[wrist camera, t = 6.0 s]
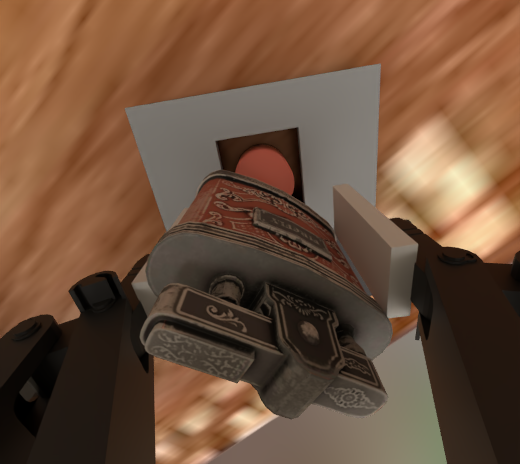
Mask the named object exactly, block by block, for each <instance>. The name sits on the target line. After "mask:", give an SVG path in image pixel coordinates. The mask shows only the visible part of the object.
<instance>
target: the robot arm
mask: <svg viewBox="0 0 520 464" xmlns="http://www.w3.org/2000/svg"><path fill="white" fill-rule="evenodd" d="M187 210H188V208H184V209H183V211H182V212H181V213H180V215H179V216H178V218H177V219H176V221H175V222H174V223H173V225H172V226H171V228H172V227H174V226H175V225H178V223H179V222H180V220H181V219H182V217H183V216H184V214H185V213H186V211H187ZM333 210H334V232H335V235H336V237H337V238H338V240H339V241H340V243H341V245H342V246H343V248H344V250H345V251H346V253H347V255H348V256H349V258H350V259H351V261H352V263H353V264H354V266H355V268H356V269H357V271H358V272H359V274H360V276H361V277H362V279H363V281H364V282H365V284H366V286H367V287H368V289H369V290H370V292H371V294H372V295H373V297H374V299H375V300H376V302H377V303H378V304H379V305H380V307H381V308H382V310H383V311H384V313H385V314H386V316H387V318H394V317H402V316H410V309H411V301H412V303H413V304H414V305H415V306H416V308H417V309H418V310H419V315H418V322H417V329H416V337H415V340H419V338H420V336H421V341H422V346H423V351H424V355H425V360H426V365H427V369H428V374H429V379H430V384H431V389H432V394H433V398H434V403H435V408H436V413H437V417H438V422H439V427H440V432H441V436H442V441H443V446H444V451H445V455H446V460H447V464H520V251H519V252H517V253H516V254H515V257H514V260H513V264H498V263H483V261H482V260H481V259H480V258H479V257H478V256H477V255H476V254H474V253H472V252H470V251H468V250H464V249H460V248H455V247H442V246H441V245H439V244H438V243H437V242H435V241H434V240H433V239H432V238H430V237H429V236H428V235H426V234H424V233H423V232H422V231H421V230H420V229H417V227H416V226H414V225H413V224H412V223H410V222H409V221H406V220H403V219H400V218H392V219H388V218H387V217H386V216H385V215H384V214H382V213H381V212H380V211H379V210H378V209H377V208H375V207H374V206H373V205H372V204H371V203H370V202H368V201H367V200H366V199H365V198H364V197H363V196H361V195H360V194H359V193H358V192H357V191H356V190H354V189H353V188H352V187H351V186H350V185H349V184H342V185H335V186H333ZM171 228H170V229H171ZM170 229H169V230H170ZM149 255H150V254H147V255H145V256H144V257H143V258H141V259H140V260H139V261H137V263H136V264H135V265H134V266H133V268H132V270H130V272H129V273H128V274H127V276H126V277H125V278H124V280H123V281H122V282H121V283H120V281H119V279H118V277H117V274H116V273H115V272H113V271H103V272H98V273H95V274H92V275H90V276H87V277H86V278H84V279H82V280H80V281H78V282H77V283H76V284H75V285H73V286H72V287H71V289H70V290H69V293H70V295H71V297H72V298H73V300H74V302H75V304H76V305H77V307H78V309H79V310H80V312H81V314H80V317H79V318H77V319H74V320H71V321H68V322H65V323H62V324H59V325H58V324H57V322H56V321H55V319H54V317H53V316H51V315H48V314H47V315H39V316H36V317H32V318H29V319H27V320H24V321H22V322H21V323H19V324H18V325H17V326H15V327H14V328H12V329H11V330H10V331H9V332H7V333H6V334H5V335H4V336H3V337H2V338H1V339H0V464H155V412H154V359H153V355H151V354H149V353H148V352H147V351H146V350H145V346H144V345H143V344H142V342H141V340H140V333H141V329H142V327H143V325H144V323H145V321H146V319H147V317H148V315H149V313H150V311H151V309H152V307H153V305H154V303H155V301H156V300H157V298H158V297H157V296H155V295H154V293H153V291H152V290H151V288H150V287H149V285H148V282H147V277H146V272H145V270H146V265H147V259H148V257H149Z"/></svg>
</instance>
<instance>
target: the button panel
mask: <svg viewBox="0 0 520 464" xmlns="http://www.w3.org/2000/svg"><path fill="white" fill-rule="evenodd" d="M380 68H381V64H375V65H369V66H364V67H358V68H352V69H346V70H341V71H335V72H329V73H324V74H318V75H312V76H306V77H301V78H295V79H289V80H283V81H278V82H272V83H266V84H261V85H255V86H249V87H243V88H238V89H232V90H226V91H220V92H215V93H209V94H203V95H198V96H192V97H186V98H180V99H175V100H169V101H163V102H157V103H152V104H146V105H140V106H134V107H129V108H125V111H126V114H127V117H128V120H129V123H130V125H131V128H132V131H133V134H134V137H135V140H136V143H137V146H138V149H139V152H140V155H141V158H142V161H143V164H144V167H145V170H146V173H147V176H148V178H149V181H150V184H151V187H152V190H153V193H154V196H155V199H156V202H157V205H158V208H159V211H160V214H161V217H162V220H163V223H164V226H165V229H166V231H168V230H169V229H170V228H171V226H172V225H173V223H174V222H175V221H176V219H177V218H178V216H179V215H180V213H181V212H182V211H183V209H184V208H189V207H190V205H191V204H192V202H193V201H194V199H195V196H196V192H197V188H198V187H199V185H200V184H201V182H202V181H203V179H204V178H205V177H206V176H207V175H209V174H210V173H211V172H214V171H217V170H223V167H222V162H221V157H220V153H219V148H218V143H217V141H218V140H224V139H230V138H236V137H242V136H248V135H254V134H260V133H266V132H272V131H278V130H285V129H291V128H297V133H298V144H299V156H300V168H301V179H302V191H303V202H304V204H306V205H307V206H309V207H310V208H311V209H312V210H314V211H315V212H316V213H317V214H319V215H320V216H321V217H322V218H324V219H325V220H326V221H327V222H328V223H329V224H330V226H331V227H332V229H333V230H334V210H333V186H335V185H342V184H349V185H350V186H351V187H352V188H353V189H354V190H356V191H357V192H358V193H359V194H360V195H361V196H363V197H364V198H365V199H366V200H367V201H368V202H370V203H371V204H372V205H373V206H374V207H375V202H376V176H377V149H378V122H379V95H380Z"/></svg>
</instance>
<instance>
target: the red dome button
mask: <svg viewBox="0 0 520 464" xmlns="http://www.w3.org/2000/svg"><path fill="white" fill-rule="evenodd" d="M235 173H237V174H241V175H244V176H247V177H251V178H254V179H257V180H259V181H262V182H264V183H266V184H269V185H271V186H273V187H276V188H278V189H280V190H283V191H284V192H286V193H288V194H289V195H291V196H292V193H293V190H294V176H293V173H292V170H291V168H290V167H289V165H288V163H287V161H286V159H285V158H284V156H283V154H282V153H281V152H280V151H279V150H278V149H276V148H275V147H272V146H270V145H265V144H260V145H255V146H252V147H250V148H249V149H247V150H246V151H245V152H244V153H243V154H242V155H241V157H240V159H239V161H238V164H237V168H236V171H235Z"/></svg>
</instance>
